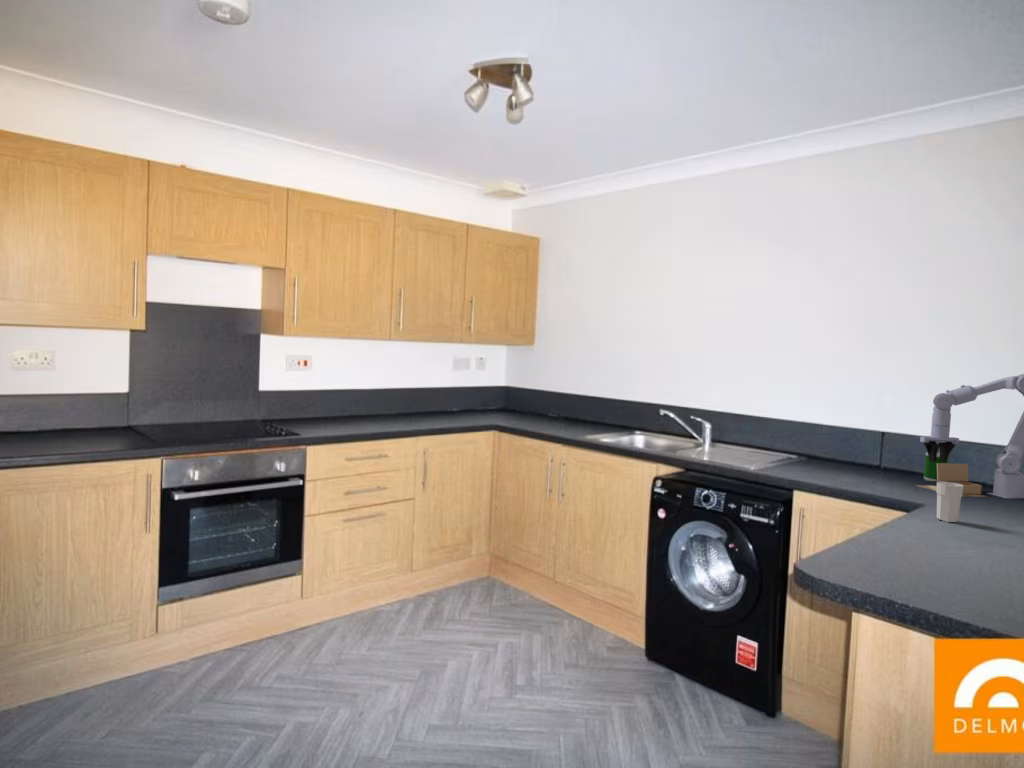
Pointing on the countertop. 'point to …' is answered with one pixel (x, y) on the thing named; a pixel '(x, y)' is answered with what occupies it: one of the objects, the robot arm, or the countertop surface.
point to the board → (936, 490)
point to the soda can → (931, 468)
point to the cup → (948, 500)
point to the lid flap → (952, 472)
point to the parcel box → (969, 488)
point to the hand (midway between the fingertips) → (937, 461)
